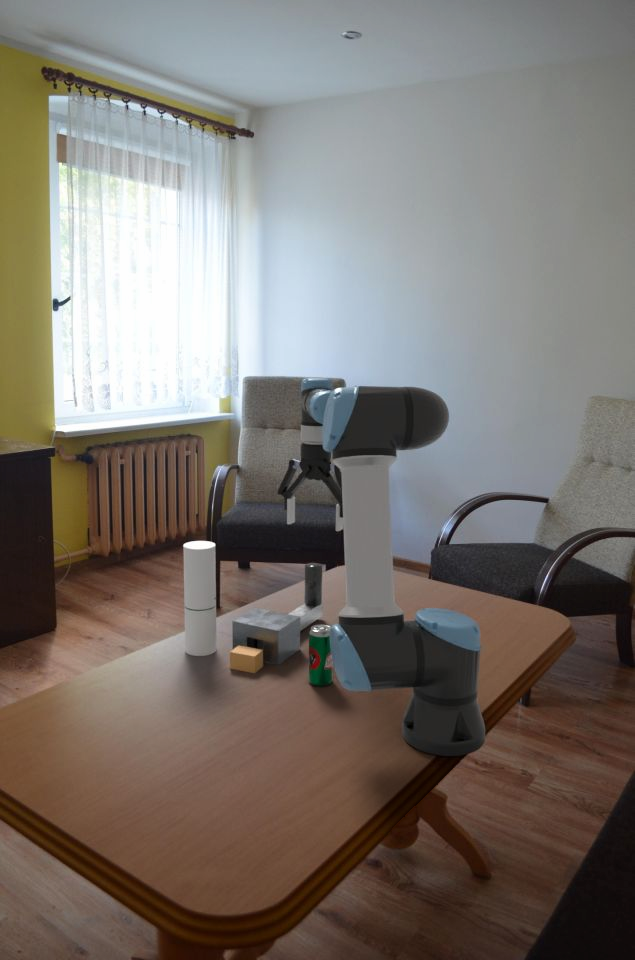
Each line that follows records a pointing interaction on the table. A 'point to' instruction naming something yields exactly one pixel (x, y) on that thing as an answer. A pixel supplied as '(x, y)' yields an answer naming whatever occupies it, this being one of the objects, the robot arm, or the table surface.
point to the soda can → (320, 656)
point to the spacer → (246, 659)
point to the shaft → (308, 598)
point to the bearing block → (268, 633)
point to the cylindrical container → (200, 597)
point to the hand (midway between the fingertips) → (314, 526)
